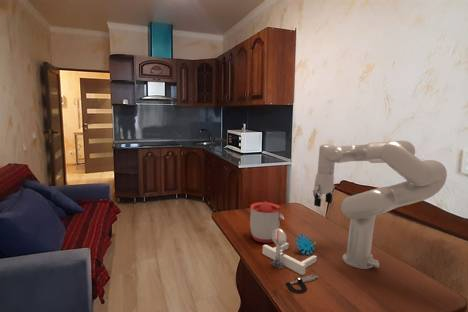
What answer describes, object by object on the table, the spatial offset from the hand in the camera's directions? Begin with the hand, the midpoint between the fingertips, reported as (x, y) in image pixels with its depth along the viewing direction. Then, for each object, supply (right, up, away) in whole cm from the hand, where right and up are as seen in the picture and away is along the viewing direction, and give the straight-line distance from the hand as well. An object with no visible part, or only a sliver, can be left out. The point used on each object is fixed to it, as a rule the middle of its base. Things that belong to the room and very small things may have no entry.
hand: (322, 204), depth 140 cm
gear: (-10, -22, -5) cm, 25 cm away
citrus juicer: (-28, -19, +7) cm, 34 cm away
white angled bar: (-19, -23, -13) cm, 32 cm away
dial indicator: (-24, -23, -18) cm, 38 cm away
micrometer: (-17, -26, -32) cm, 44 cm away
